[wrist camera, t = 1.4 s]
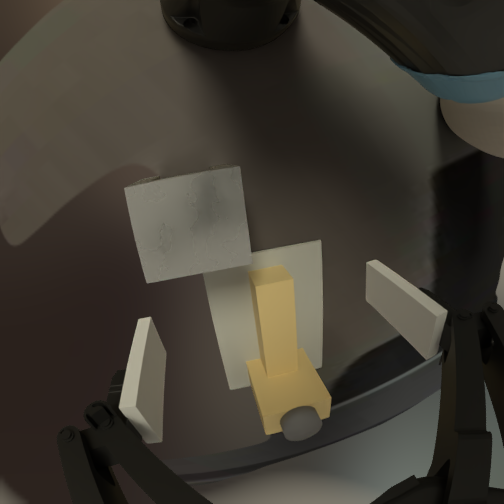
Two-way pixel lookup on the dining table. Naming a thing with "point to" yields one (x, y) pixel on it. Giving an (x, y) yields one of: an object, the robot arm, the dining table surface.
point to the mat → (242, 315)
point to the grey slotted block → (190, 223)
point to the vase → (477, 123)
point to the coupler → (283, 361)
